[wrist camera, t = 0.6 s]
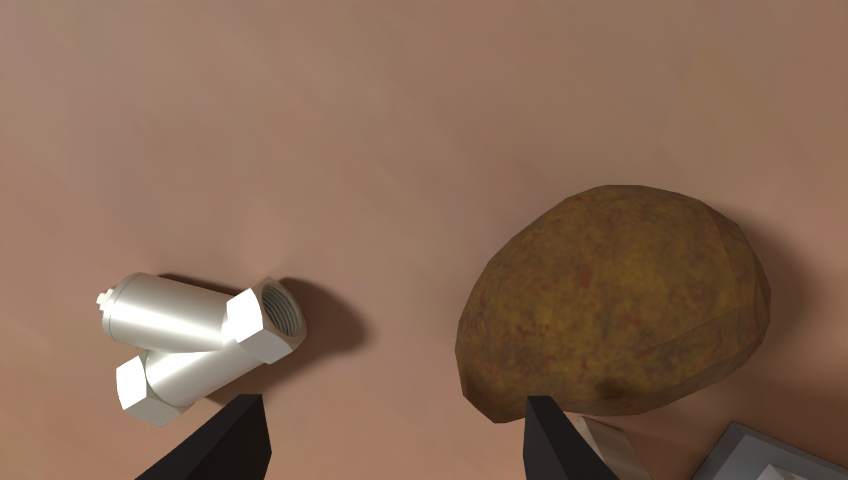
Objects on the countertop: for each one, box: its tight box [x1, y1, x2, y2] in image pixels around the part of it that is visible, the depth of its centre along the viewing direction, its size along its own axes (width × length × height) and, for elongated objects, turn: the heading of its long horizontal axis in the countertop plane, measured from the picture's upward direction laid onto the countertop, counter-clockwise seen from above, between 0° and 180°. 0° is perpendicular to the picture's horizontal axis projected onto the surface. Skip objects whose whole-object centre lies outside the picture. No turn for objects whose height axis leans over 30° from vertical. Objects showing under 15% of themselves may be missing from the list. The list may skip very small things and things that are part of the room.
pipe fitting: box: [97, 272, 307, 427], centre depth 21 cm, size 8×4×7 cm
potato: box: [455, 185, 771, 423], centre depth 17 cm, size 8×12×9 cm
